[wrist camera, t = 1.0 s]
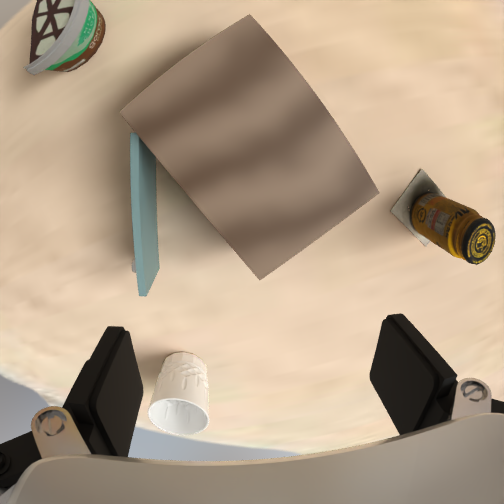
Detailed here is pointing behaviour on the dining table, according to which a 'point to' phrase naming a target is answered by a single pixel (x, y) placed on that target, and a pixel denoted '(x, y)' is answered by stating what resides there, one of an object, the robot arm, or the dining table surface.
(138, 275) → the door
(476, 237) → the condiment
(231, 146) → the bread box
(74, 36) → the food container
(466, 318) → the dining table surface
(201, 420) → the white cup
